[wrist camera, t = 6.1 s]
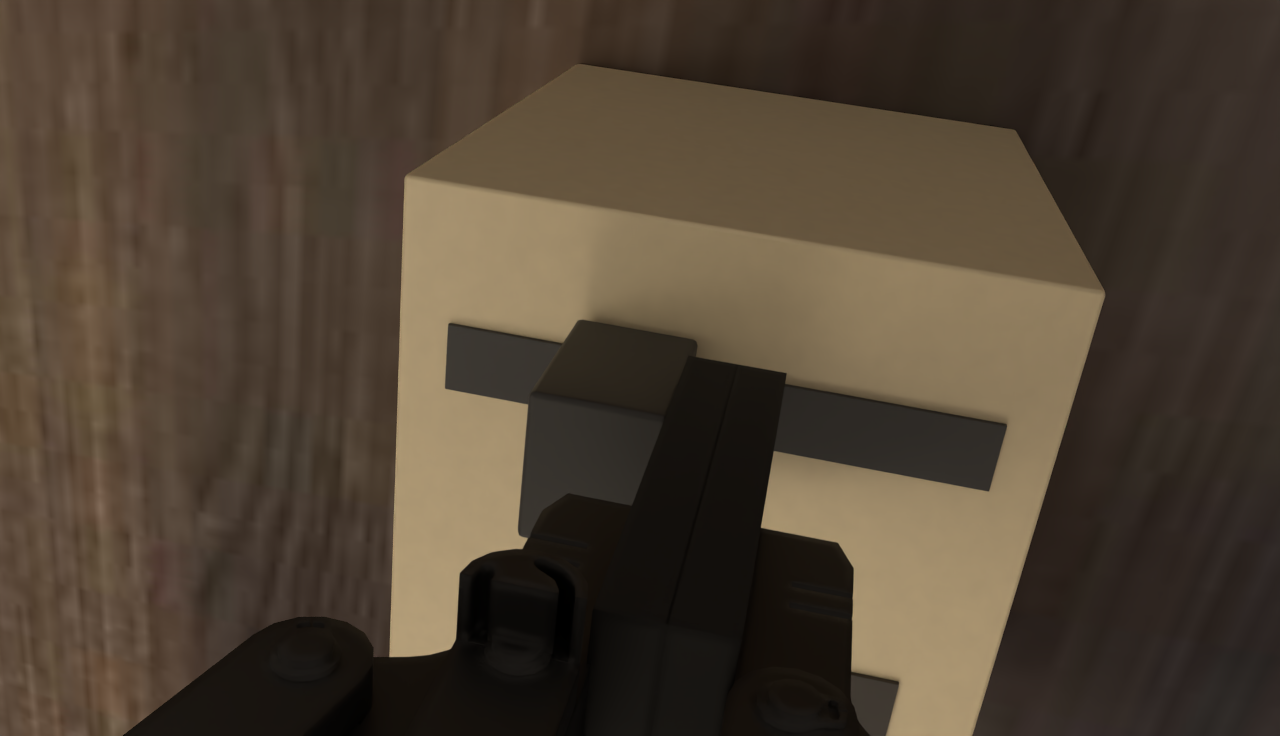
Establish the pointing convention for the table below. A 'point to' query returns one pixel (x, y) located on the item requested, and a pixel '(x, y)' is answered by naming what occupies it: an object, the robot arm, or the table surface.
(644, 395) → the button
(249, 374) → the table surface
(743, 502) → the robot arm
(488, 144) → the toaster
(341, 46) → the table surface
